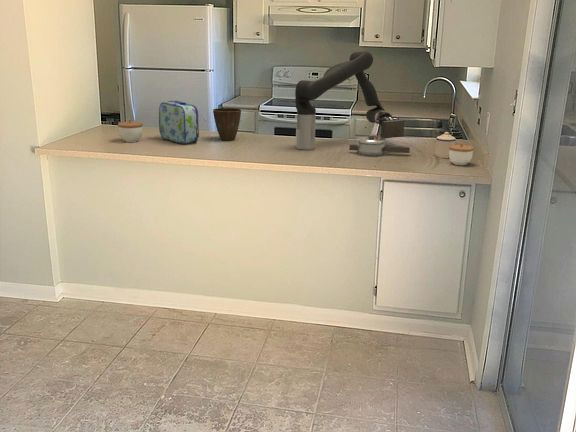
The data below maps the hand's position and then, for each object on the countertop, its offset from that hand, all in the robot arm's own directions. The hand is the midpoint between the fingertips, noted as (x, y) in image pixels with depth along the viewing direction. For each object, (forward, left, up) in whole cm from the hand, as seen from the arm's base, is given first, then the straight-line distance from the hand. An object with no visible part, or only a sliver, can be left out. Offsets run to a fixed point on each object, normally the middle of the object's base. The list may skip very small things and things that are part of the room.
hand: (392, 123), depth 294 cm
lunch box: (-107, +23, -13) cm, 110 cm away
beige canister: (+22, -17, -13) cm, 31 cm away
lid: (-7, -8, -7) cm, 13 cm away
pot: (-9, -10, -13) cm, 19 cm away
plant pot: (-82, +27, -13) cm, 87 cm away
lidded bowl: (-132, +24, -13) cm, 135 cm away
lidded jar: (+23, -34, -13) cm, 43 cm away
